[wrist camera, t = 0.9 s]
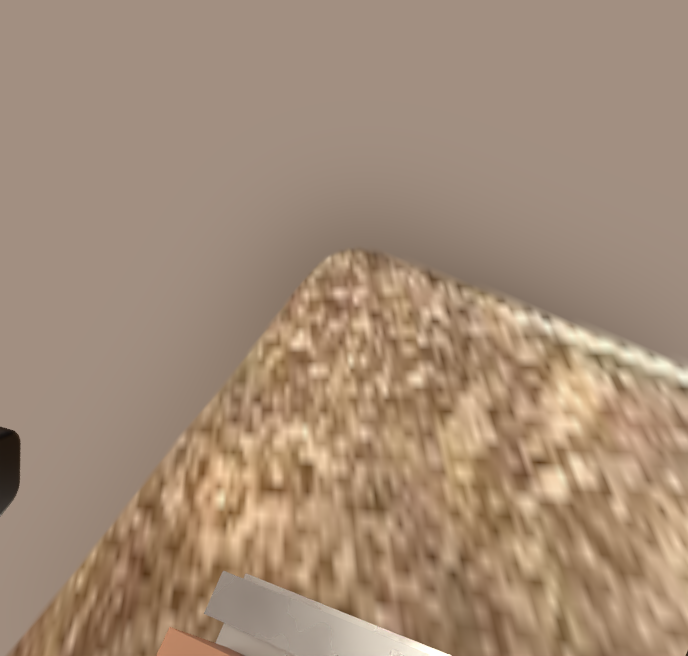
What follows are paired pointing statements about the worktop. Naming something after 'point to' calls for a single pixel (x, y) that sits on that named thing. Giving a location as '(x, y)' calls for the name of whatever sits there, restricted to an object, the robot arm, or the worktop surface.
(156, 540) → the worktop surface
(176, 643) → the reddish-brown angular block
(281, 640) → the channel
